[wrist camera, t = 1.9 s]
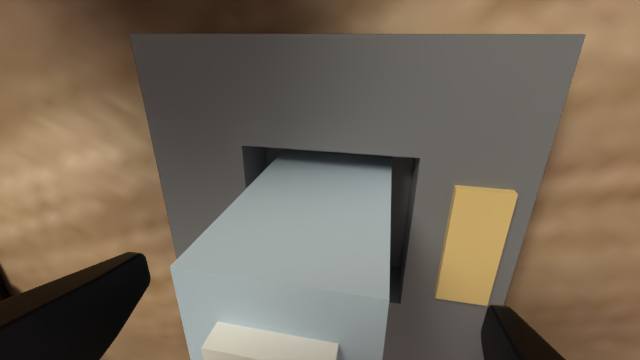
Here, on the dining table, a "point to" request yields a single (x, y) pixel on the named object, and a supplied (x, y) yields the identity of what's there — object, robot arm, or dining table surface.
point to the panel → (373, 148)
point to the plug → (293, 265)
